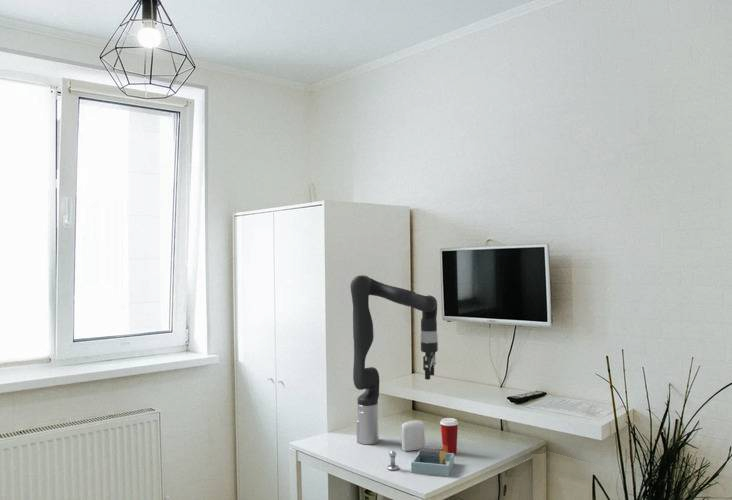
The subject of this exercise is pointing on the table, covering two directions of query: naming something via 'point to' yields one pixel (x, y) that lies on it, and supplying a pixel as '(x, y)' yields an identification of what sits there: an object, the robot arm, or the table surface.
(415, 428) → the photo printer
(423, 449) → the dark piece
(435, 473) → the bin
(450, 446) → the paper cup
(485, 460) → the table surface
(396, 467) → the stud post
